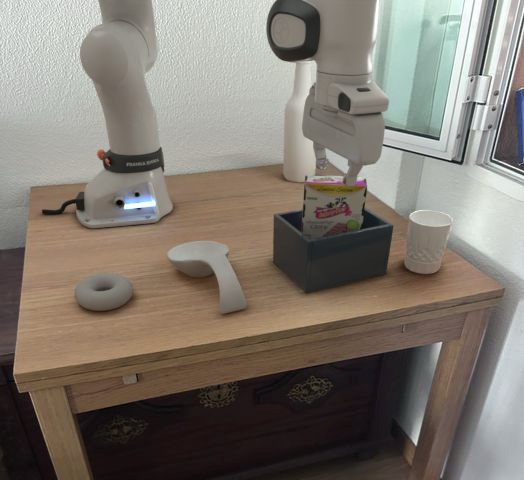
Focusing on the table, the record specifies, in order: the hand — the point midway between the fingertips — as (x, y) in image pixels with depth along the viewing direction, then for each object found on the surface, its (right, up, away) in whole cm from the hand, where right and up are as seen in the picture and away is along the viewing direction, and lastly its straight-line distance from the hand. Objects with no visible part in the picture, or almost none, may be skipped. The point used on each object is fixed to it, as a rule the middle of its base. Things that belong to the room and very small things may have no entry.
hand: (334, 176), depth 95 cm
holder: (0, -14, +11) cm, 18 cm away
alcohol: (-3, +17, +54) cm, 57 cm away
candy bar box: (0, -14, +10) cm, 17 cm away
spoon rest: (-22, -18, +6) cm, 29 cm away
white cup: (+19, -14, +11) cm, 26 cm away
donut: (-40, -22, +1) cm, 46 cm away
